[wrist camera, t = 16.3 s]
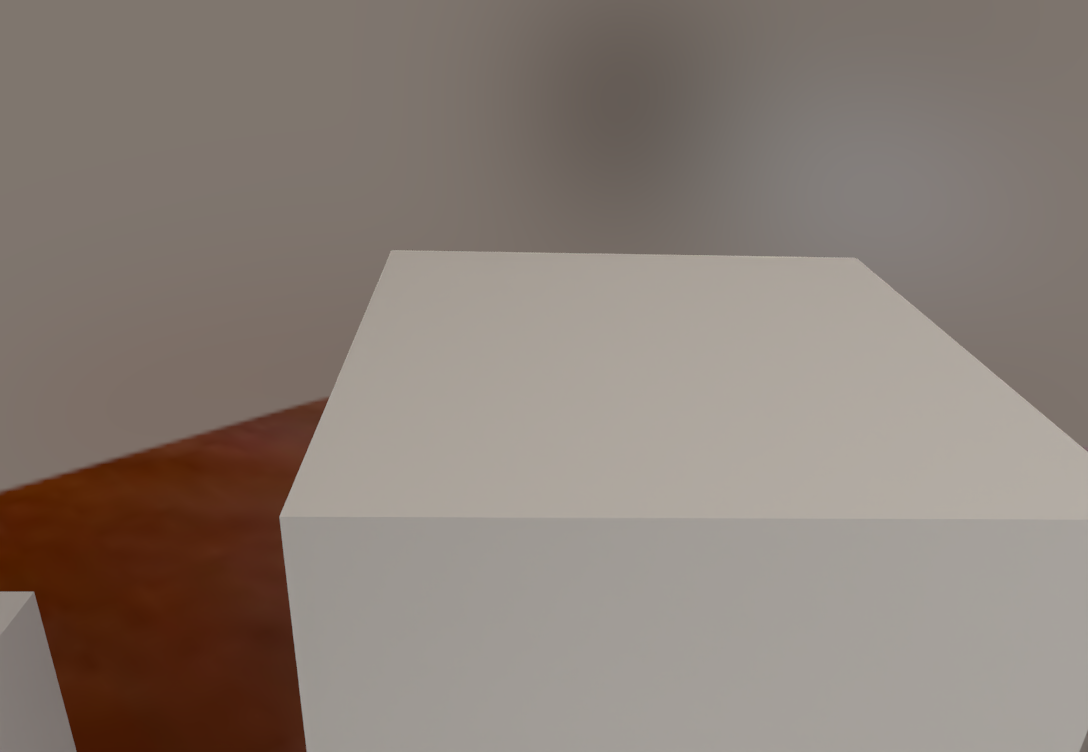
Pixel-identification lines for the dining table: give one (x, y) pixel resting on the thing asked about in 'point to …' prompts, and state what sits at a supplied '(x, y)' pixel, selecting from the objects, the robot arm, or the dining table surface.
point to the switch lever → (680, 519)
